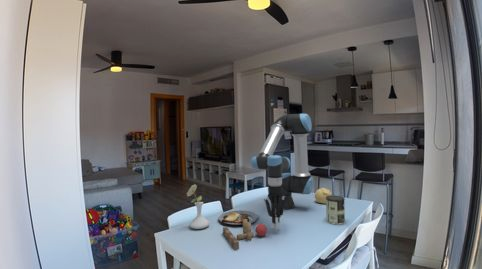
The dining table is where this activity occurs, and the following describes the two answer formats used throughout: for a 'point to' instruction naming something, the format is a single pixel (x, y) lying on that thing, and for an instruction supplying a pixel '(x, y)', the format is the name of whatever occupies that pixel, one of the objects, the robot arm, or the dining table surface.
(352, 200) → the dining table surface
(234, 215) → the food plate
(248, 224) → the pin
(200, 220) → the flower in vase
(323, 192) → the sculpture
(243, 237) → the front pin
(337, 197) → the coffee can
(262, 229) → the ball
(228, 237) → the back wall
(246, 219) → the pin
